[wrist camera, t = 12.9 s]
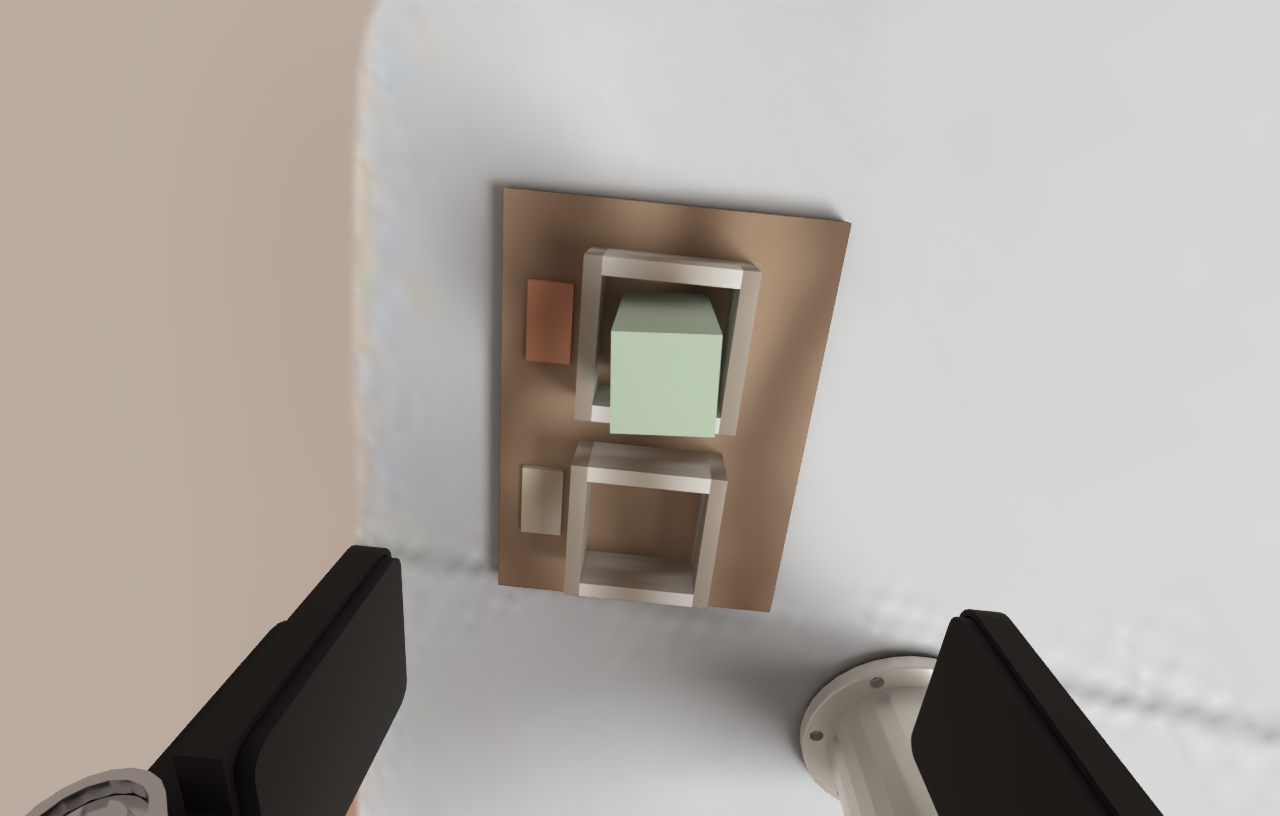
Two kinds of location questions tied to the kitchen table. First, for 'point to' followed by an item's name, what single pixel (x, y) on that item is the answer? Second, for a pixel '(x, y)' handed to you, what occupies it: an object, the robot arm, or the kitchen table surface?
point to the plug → (665, 365)
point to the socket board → (655, 464)
